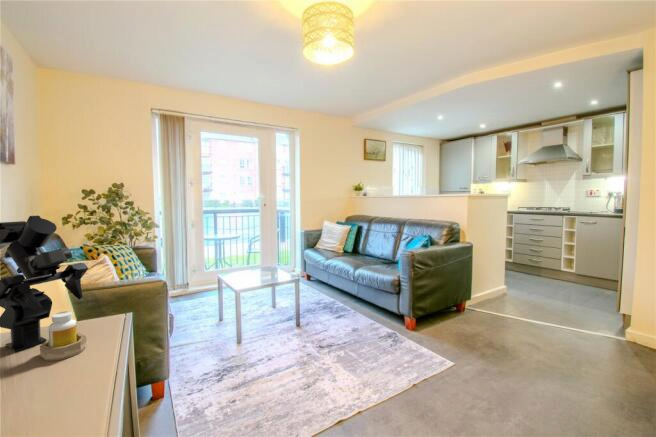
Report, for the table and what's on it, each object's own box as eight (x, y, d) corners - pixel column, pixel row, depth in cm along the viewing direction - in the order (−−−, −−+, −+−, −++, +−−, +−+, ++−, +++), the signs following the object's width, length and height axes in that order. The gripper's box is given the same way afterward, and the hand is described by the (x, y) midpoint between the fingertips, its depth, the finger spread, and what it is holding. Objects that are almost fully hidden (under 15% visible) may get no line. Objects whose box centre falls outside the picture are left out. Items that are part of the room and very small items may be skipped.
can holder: (35, 355, 76) (35, 344, 76) (74, 341, 84) (74, 331, 84) (52, 364, 73) (51, 352, 72) (91, 348, 80) (91, 337, 80)
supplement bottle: (82, 346, 80) (80, 311, 79) (59, 357, 75) (57, 319, 74) (67, 343, 82) (66, 309, 81) (44, 353, 76) (42, 316, 76)
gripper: (-3, 244, 69) (32, 296, 66) (82, 235, 87) (113, 275, 84) (-24, 274, 71) (10, 325, 69) (64, 259, 89) (93, 299, 87)
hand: (62, 304), depth 77 cm, fingers open, 9 cm apart
